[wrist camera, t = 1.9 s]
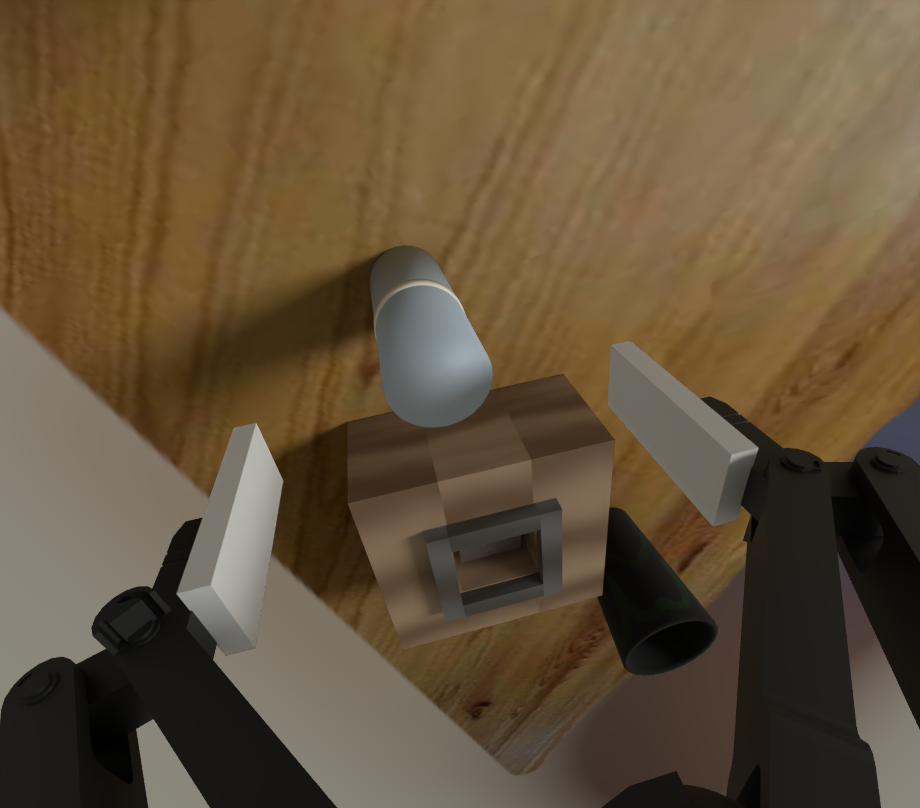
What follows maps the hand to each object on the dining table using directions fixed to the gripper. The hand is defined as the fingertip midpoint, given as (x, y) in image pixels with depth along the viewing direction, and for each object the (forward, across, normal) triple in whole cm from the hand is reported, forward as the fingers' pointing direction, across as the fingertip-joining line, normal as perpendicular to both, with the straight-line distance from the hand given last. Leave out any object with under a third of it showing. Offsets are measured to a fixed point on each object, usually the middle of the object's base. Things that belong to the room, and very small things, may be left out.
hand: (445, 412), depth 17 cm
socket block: (+14, +2, -16) cm, 22 cm away
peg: (+14, 0, 0) cm, 14 cm away
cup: (+14, +14, -27) cm, 34 cm away
